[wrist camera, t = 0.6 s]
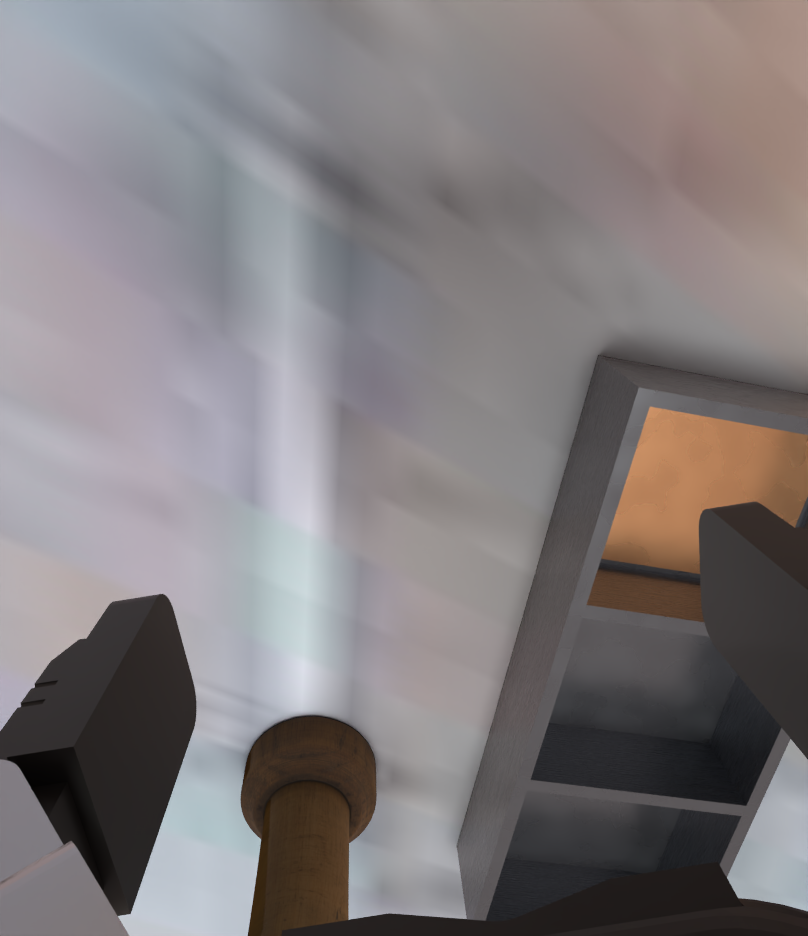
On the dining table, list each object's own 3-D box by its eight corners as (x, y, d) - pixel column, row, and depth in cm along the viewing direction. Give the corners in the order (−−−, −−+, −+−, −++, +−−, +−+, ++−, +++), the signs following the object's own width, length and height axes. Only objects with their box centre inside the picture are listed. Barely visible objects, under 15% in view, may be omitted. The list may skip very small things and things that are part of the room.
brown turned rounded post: (390, 803, 40) (408, 1267, 23) (269, 830, 40) (200, 1309, 23) (357, 701, 37) (350, 1137, 20) (228, 731, 37) (118, 1185, 21)
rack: (598, 355, 31) (638, 387, 27) (856, 403, 33) (937, 442, 28) (456, 846, 41) (468, 933, 36) (662, 868, 42) (699, 955, 37)
